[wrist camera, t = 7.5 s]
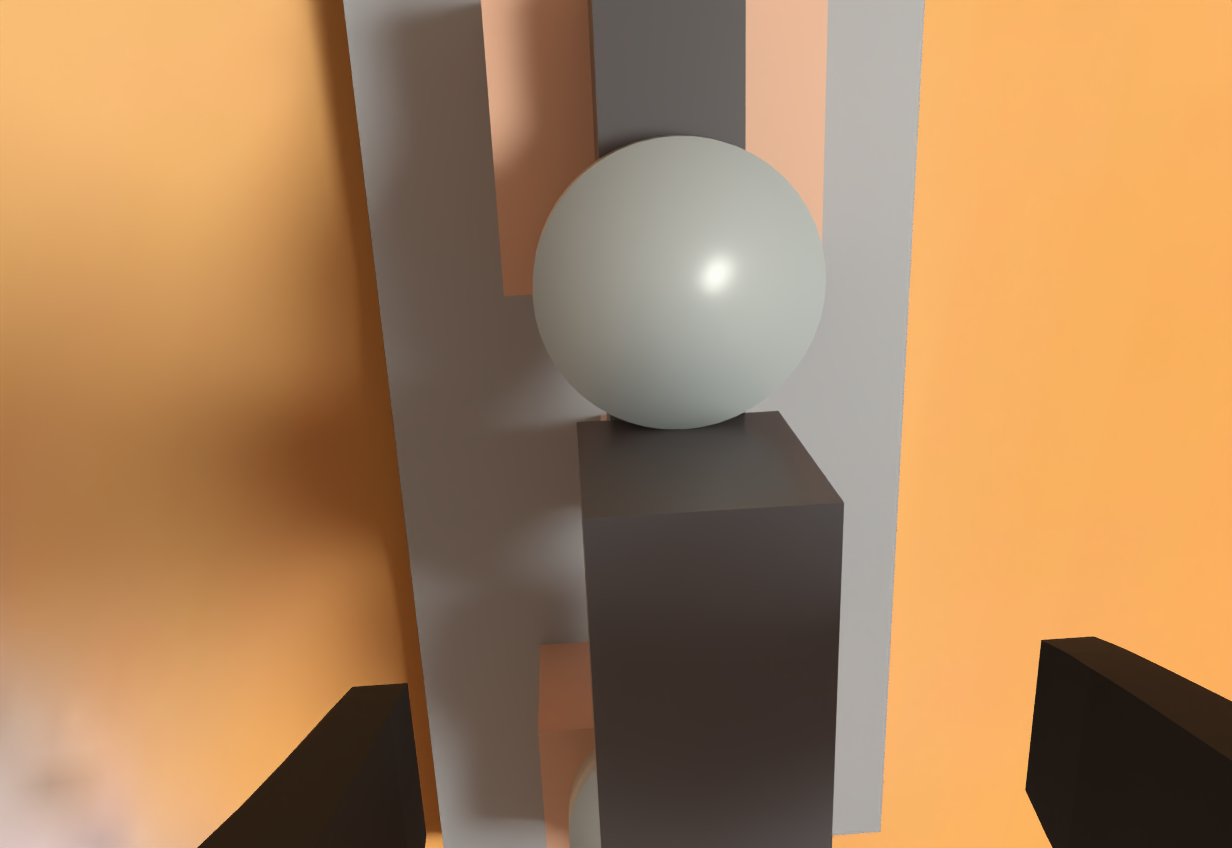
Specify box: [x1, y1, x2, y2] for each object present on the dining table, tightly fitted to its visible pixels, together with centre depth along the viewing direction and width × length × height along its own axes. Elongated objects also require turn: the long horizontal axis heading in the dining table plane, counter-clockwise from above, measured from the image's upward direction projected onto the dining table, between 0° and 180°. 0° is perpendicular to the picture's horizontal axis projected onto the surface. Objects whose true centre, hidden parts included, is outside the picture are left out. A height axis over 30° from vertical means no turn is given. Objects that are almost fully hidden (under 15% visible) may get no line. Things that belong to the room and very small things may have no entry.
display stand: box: [343, 0, 925, 848], centre depth 18 cm, size 19×10×5 cm, turn 2°
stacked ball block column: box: [533, 0, 844, 848], centre depth 14 cm, size 17×4×5 cm, turn 2°
